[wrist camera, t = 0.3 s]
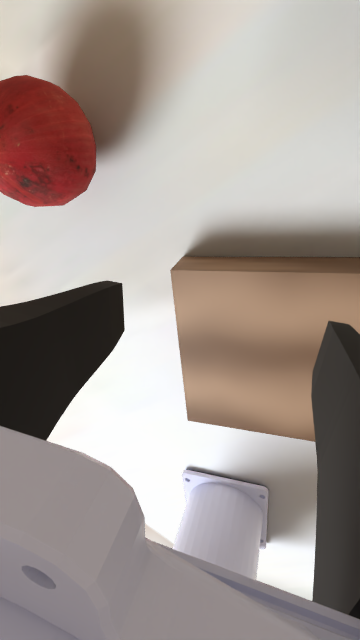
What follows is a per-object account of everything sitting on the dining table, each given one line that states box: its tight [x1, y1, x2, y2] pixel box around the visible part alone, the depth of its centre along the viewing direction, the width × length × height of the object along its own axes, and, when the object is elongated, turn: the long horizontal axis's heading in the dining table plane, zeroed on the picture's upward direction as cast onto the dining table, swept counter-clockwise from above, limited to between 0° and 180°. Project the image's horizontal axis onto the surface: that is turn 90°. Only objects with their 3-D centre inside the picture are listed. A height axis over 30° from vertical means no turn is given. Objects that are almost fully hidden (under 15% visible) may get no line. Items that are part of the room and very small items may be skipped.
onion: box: [0, 75, 96, 207], centre depth 17 cm, size 6×6×8 cm
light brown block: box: [170, 257, 360, 442], centre depth 21 cm, size 12×12×2 cm
